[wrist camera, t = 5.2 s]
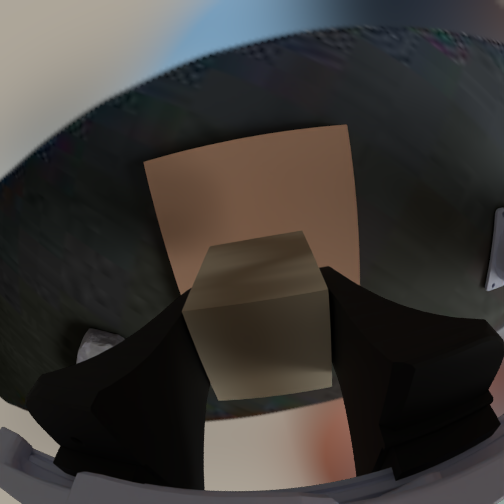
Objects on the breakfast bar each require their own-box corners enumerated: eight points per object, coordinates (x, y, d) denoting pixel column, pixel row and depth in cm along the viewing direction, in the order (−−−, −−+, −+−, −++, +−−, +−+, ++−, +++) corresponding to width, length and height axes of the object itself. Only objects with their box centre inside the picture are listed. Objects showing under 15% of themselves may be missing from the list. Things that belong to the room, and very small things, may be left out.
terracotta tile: (337, 125, 16) (346, 124, 14) (351, 290, 21) (359, 304, 19) (154, 159, 17) (143, 162, 15) (198, 314, 22) (193, 329, 20)
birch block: (302, 230, 12) (328, 289, 7) (311, 308, 13) (331, 386, 9) (209, 246, 12) (181, 311, 8) (230, 321, 14) (218, 400, 9)
